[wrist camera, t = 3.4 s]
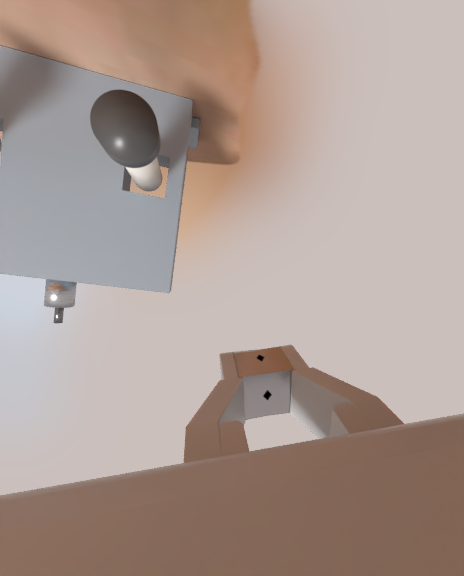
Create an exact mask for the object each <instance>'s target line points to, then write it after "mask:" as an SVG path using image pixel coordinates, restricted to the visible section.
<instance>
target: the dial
mask: <svg viewBox="0 0 464 576" xmlns="http://www.w3.org/2000/svg"><path fill="white" fill-rule="evenodd" d="M76 284H77V283H76V282H68V281H59V280H50V279H46V287H45V299H44V306H47V307H55V314H54V323H62V322H63V321H62V320H63V311H64V308H66V307H73V306H74V305H75V294H76Z"/></svg>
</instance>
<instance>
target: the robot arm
mask: <svg viewBox="0 0 464 576" xmlns="http://www.w3.org/2000/svg"><path fill="white" fill-rule="evenodd" d="M220 369H221V380H220V381H219V382H218V384H217V385H216V386H215V388H214V389H213V391H212V392H211V393H210V395H209V396H208V397H207V399H206V400H205V402H204V403H203V404H202V406H201V407H200V409H199V410H198V411H197V413H196V414H195V416H194V417H193V418H192V420H191V421H190V422H189V424H188V425H187V427H186V435H185V450H184V463H182V464H177V465H171V466H165V467H160V468H154V469H148V470H142V471H137V472H132V473H126V474H120V475H114V476H109V477H103V478H97V479H92V480H86V481H80V482H75V483H69V484H64V485H58V486H52V487H46V488H41V489H36V490H30V491H24V492H18V493H13V494H7V495H1V496H0V576H464V414H459V415H453V416H448V417H442V418H437V419H432V420H425V421H420V422H414V423H408V424H404V423H403V422H402V421H401V420H400V419H399V418H398V417H397V416H396V415H395V414H394V413H393V412H392V411H391V410H390V409H389V408H388V407H387V406H386V405H385V404H384V403H383V402H382V401H381V400H380V399H379V398H378V397H376V396H374V395H372V394H370V393H368V392H365V391H363V390H361V389H359V388H357V387H354V386H352V385H350V384H348V383H345V382H344V381H341V380H339V379H337V378H335V377H332V376H330V375H328V374H326V373H323V372H322V371H319V370H317V369H315V368H309V367H308V365H307V364H306V363H305V361H304V360H303V359H302V357H301V356H300V355H299V353H298V352H297V351H296V350H295V348H294V347H293V346H292V345H286V346H280V347H274V348H268V349H261V350H249V351H239V352H229V353H222V354H220ZM284 413H290V414H291V415H292V416H293V417H294V418H296V419H297V420H298V421H299V422H300V423H302V424H303V425H304V426H305V427H306V428H308V429H309V430H310V431H311V432H312V433H313V434H315V435H316V436H317V437H318V438H319V439H318V440H312V441H306V442H301V443H295V444H290V445H283V446H278V447H273V448H267V449H261V450H255V451H250V452H249V448H248V444H247V440H246V435H245V431H244V424H245V420H247V419H252V418H257V417H263V416H267V415H275V414H284Z"/></svg>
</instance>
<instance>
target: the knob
mask: <svg viewBox="0 0 464 576" xmlns="http://www.w3.org/2000/svg"><path fill="white" fill-rule="evenodd" d="M90 123H91V128H92V131H93V133H94V135H95V137H96V138H97V140H98V141H99V143H100V144H101V146H102V147H103V148H104V150H105V151H106V153H107V154H108V155H109V156H110V158H111V159H113V160H114V161H115V162H116V163H118V164H120V165H122V166H125V167H126V169H127V170H128V172H129V174H130V175H131V177H132V179H133V180H134V182H135V183H136V185H137V186H138V187H139V188H141V189H142V190H144V191H154V190H156V189H157V188H159V186H160V185H161V183H162V174H161V170H160V167H159V163H158V159H157V155H158V153H159V150H160V146H161V139H160V134H159V129H158V124H157V119H156V116H155V114H154V112H153V110H152V108H151V107H150V105H149V104H148V103H147V102H146V101H145V100H144V99H143V98H142V97H140V96H139V95H137V94H135V93H133V92H130V91H127V90H120V89H119V90H111V91H108V92H106V93H104V94H102V95H101V96H99V97H98V98H97V100H96V101H95V102H94V104H93V106H92V109H91V113H90Z"/></svg>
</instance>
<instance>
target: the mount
mask: <svg viewBox="0 0 464 576" xmlns="http://www.w3.org/2000/svg"><path fill="white" fill-rule="evenodd" d="M119 89H120V90H127V91H130V92H133V93H135V94H137V95H139V96H140V97H142V98H143V99H144V100H145V101H146V102H147V103H148V104H149V105H150V107H151V108H152V110H153V112H154V114H155V116H156V119H157V124H158V129H159V134H160V139H161V146H160V150H159V153H158V155H157V159H158V163H159V166H162V167H167V168H169V170H168V180H167V188H166V196H165V198H160V197H154V196H150V195H144V194H139V193H134V192H130V182H131V175H130V174H129V172H128V170H127V169H126V167H125V166H122V165H120V164H118V163H116V162H115V161H114V160H113V159H111V158H110V156H109V155H108V154H107V153H106V151H105V150H104V148H103V147H102V146H101V144H100V143H99V141H98V140H97V138H96V137H95V135H94V133H93V131H92V128H91V123H90V113H91V109H92V106H93V104H94V102H95V101H96V100H97V98H98V97H99V96H101V95H102V94H104V93H106V92H108V91H111V90H119ZM192 107H193V100H191V99H188V98H184V97H181V96H177V95H174V94H170V93H167V92H163V91H159V90H156V89H152V88H149V87H145V86H142V85H138V84H135V83H131V82H128V81H124V80H121V79H117V78H114V77H110V76H107V75H103V74H100V73H96V72H93V71H89V70H85V69H82V68H78V67H75V66H71V65H68V64H64V63H61V62H57V61H54V60H50V59H47V58H43V57H40V56H36V55H33V54H29V53H26V52H22V51H19V50H15V49H11V48H8V47H4V46H1V45H0V131H3V136H2V149H1V162H0V163H1V164H0V274H8V275H16V276H24V277H33V278H41V279H50V280H59V281H68V282H76V283H85V284H95V285H103V286H111V287H120V288H129V289H137V290H146V291H155V292H164V293H170V291H171V285H172V278H173V270H174V262H175V253H176V245H177V237H178V229H179V220H180V213H181V204H182V195H183V188H184V180H185V172H186V164H187V155H188V147H190V148H195V149H197V147H198V139H199V127H200V119H197V118H194V117H192Z"/></svg>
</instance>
